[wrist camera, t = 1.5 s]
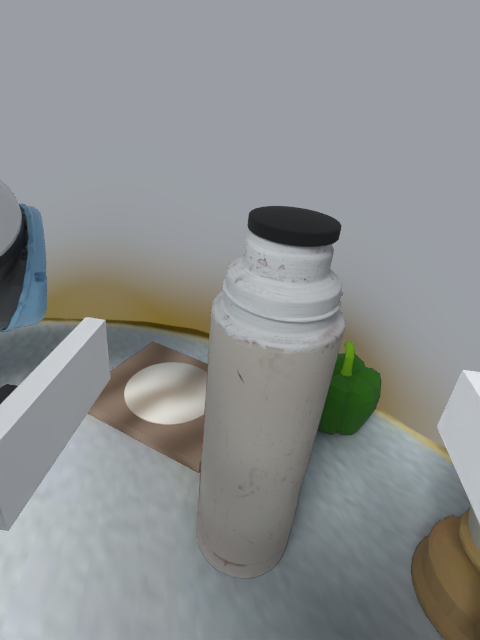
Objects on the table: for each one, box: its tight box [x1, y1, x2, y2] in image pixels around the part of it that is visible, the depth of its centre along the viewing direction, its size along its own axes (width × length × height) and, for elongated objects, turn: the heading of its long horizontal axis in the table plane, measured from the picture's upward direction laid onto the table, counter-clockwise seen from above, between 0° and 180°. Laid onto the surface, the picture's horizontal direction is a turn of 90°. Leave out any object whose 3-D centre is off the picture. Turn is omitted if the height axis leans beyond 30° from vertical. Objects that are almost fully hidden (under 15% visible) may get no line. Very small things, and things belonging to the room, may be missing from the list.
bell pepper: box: [318, 341, 381, 435], centre depth 45 cm, size 8×8×10 cm
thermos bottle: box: [197, 206, 345, 578], centre depth 28 cm, size 8×8×28 cm
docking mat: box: [88, 342, 208, 473], centre depth 48 cm, size 17×14×2 cm
